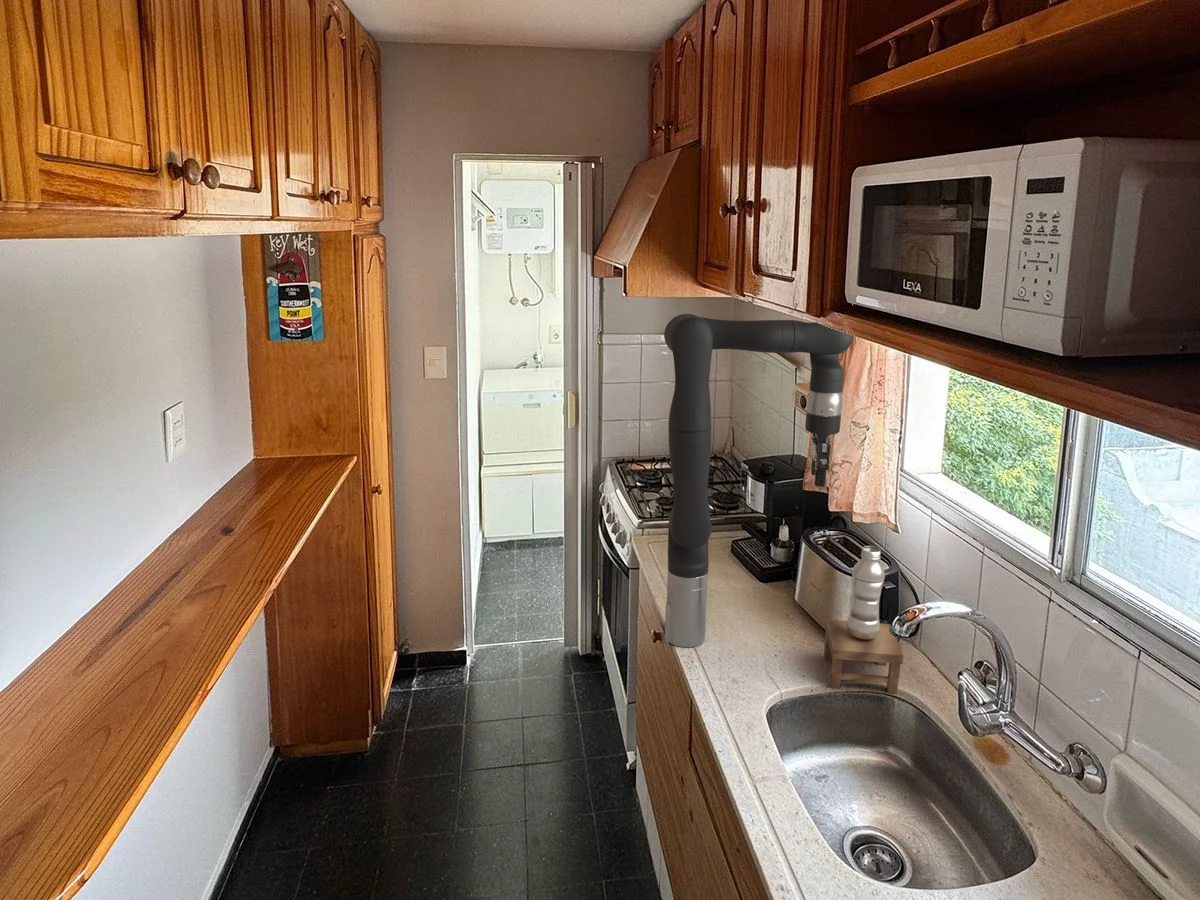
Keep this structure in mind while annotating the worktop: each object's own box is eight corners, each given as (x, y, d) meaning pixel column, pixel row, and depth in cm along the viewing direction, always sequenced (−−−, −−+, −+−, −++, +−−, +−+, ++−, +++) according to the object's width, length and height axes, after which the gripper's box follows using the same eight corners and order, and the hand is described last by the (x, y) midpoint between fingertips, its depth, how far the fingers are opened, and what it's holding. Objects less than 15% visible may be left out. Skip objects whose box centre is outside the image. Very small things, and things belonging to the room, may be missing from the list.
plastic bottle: (880, 645, 174) (890, 556, 168) (846, 641, 175) (856, 553, 170) (876, 631, 180) (886, 545, 174) (844, 627, 181) (853, 542, 176)
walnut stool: (829, 688, 174) (833, 649, 171) (821, 655, 187) (825, 619, 185) (898, 694, 172) (903, 655, 170) (886, 660, 185) (890, 624, 183)
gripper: (803, 403, 191) (798, 470, 195) (809, 416, 177) (803, 489, 182) (837, 404, 190) (830, 472, 194) (845, 418, 176) (838, 491, 181)
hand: (817, 480), depth 188 cm, fingers open, 8 cm apart
